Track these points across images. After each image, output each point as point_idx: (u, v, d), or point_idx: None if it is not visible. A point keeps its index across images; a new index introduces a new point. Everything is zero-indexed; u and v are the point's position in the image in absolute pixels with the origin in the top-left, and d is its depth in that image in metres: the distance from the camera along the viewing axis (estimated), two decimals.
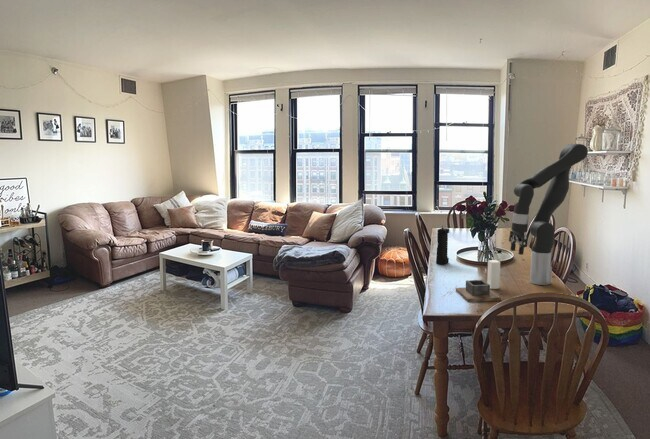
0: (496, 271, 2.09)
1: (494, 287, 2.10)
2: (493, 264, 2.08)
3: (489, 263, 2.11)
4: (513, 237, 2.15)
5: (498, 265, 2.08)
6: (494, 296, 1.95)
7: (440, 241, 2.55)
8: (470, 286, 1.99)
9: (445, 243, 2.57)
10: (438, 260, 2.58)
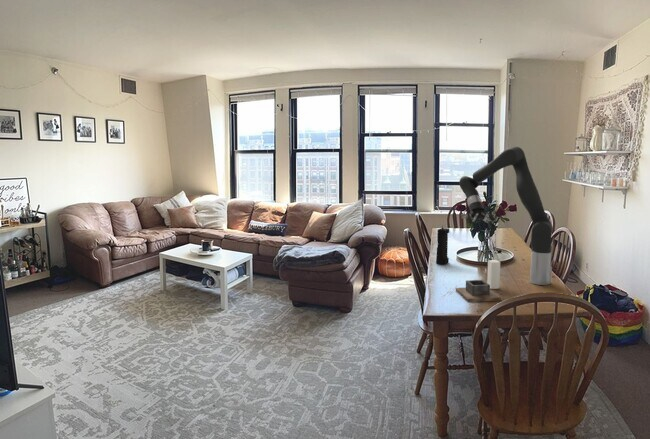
0: (496, 271, 2.09)
1: (494, 287, 2.10)
2: (493, 264, 2.08)
3: (489, 263, 2.11)
4: None
5: (498, 265, 2.08)
6: (494, 296, 1.95)
7: (440, 241, 2.55)
8: (470, 286, 1.99)
9: (445, 243, 2.57)
10: (438, 260, 2.58)
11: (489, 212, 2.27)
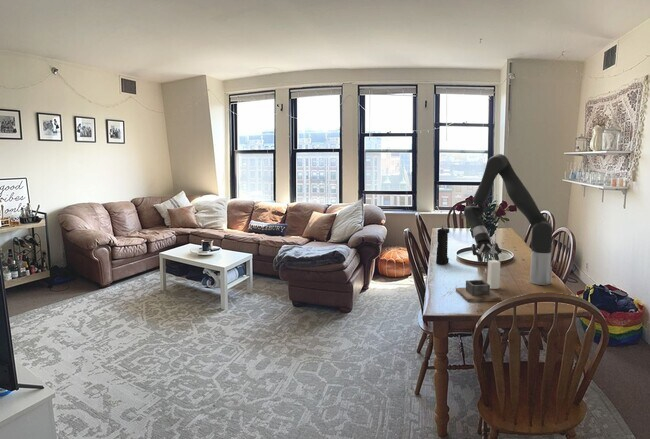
0: (496, 271, 2.09)
1: (494, 287, 2.10)
2: (493, 264, 2.08)
3: (489, 263, 2.11)
4: None
5: (498, 265, 2.08)
6: (494, 296, 1.95)
7: (440, 241, 2.55)
8: (470, 286, 1.99)
9: (445, 243, 2.57)
10: (438, 260, 2.58)
11: (495, 244, 2.21)
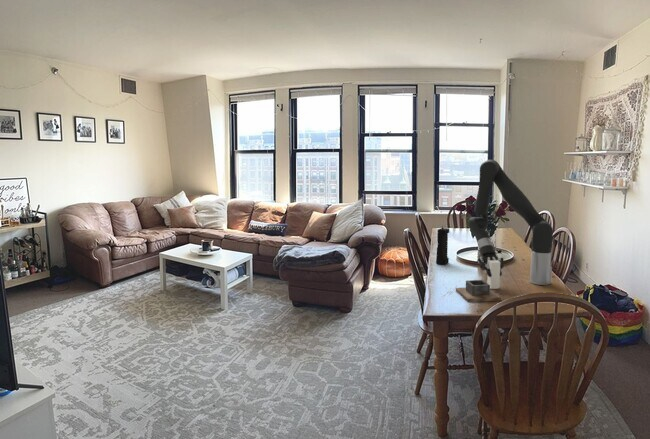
0: (496, 271, 2.09)
1: (494, 287, 2.10)
2: (493, 264, 2.08)
3: (489, 263, 2.11)
4: None
5: (498, 265, 2.08)
6: (494, 296, 1.95)
7: (440, 241, 2.55)
8: (470, 286, 1.99)
9: (445, 243, 2.57)
10: (438, 260, 2.58)
11: (501, 258, 2.15)
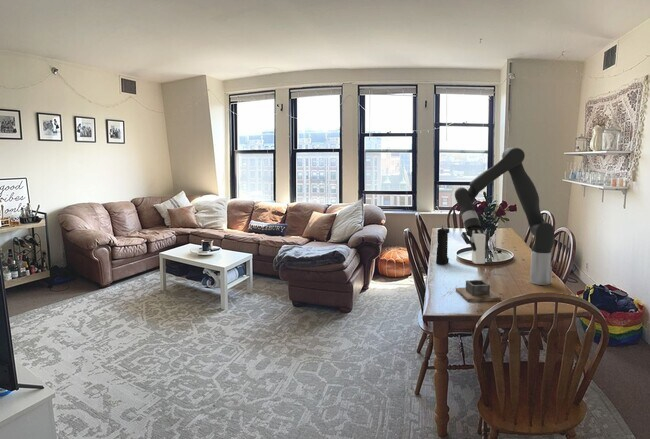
0: (481, 245, 1.95)
1: (479, 262, 1.96)
2: (478, 237, 1.94)
3: (474, 236, 1.97)
4: None
5: (483, 238, 1.95)
6: (494, 296, 1.95)
7: (440, 241, 2.55)
8: (470, 286, 1.99)
9: (445, 243, 2.57)
10: (438, 260, 2.58)
11: (487, 231, 2.01)
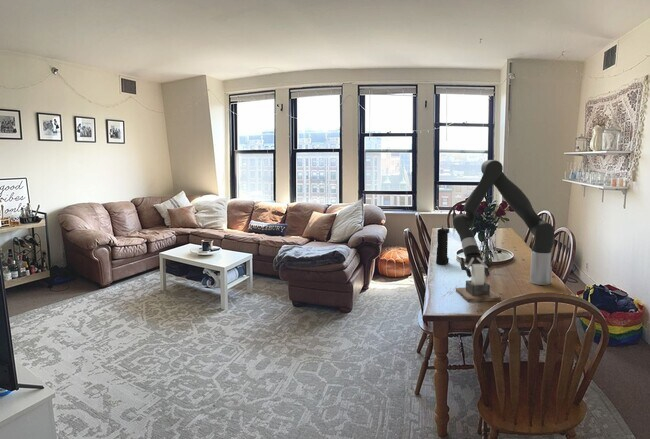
0: (480, 276, 1.98)
1: None
2: (477, 268, 1.97)
3: (473, 267, 1.99)
4: None
5: (482, 269, 1.97)
6: (494, 296, 1.95)
7: (440, 241, 2.55)
8: (470, 286, 1.99)
9: (445, 243, 2.57)
10: (438, 260, 2.58)
11: (486, 257, 2.03)
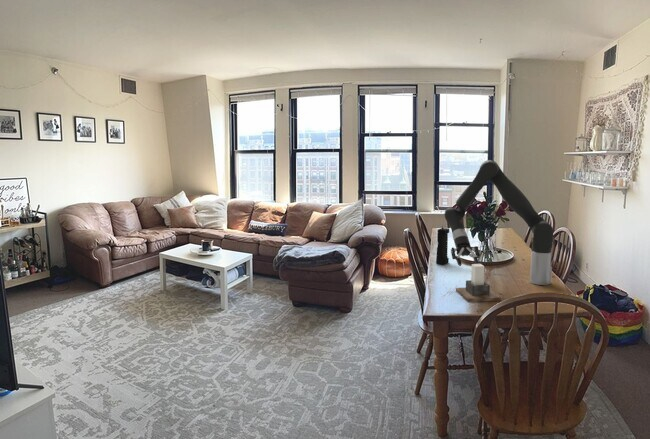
0: (480, 276, 1.98)
1: None
2: (477, 268, 1.97)
3: (473, 267, 1.99)
4: None
5: (482, 269, 1.97)
6: (494, 296, 1.95)
7: (440, 241, 2.55)
8: (470, 286, 1.99)
9: (445, 243, 2.57)
10: (438, 260, 2.58)
11: (475, 247, 2.16)
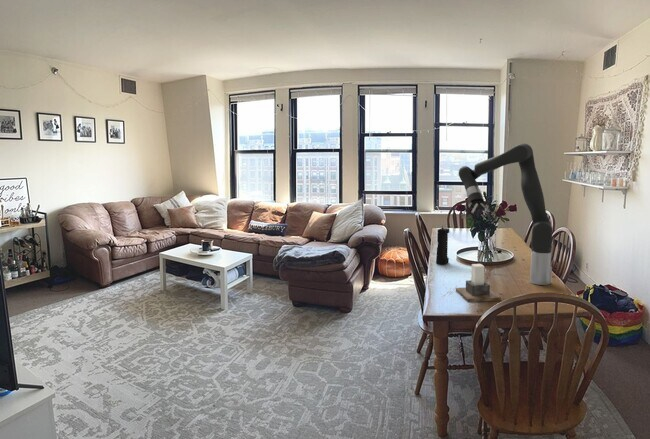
0: (480, 276, 1.98)
1: None
2: (477, 268, 1.97)
3: (473, 267, 1.99)
4: None
5: (482, 269, 1.97)
6: (494, 296, 1.95)
7: (440, 241, 2.55)
8: (470, 286, 1.99)
9: (445, 243, 2.57)
10: (438, 260, 2.58)
11: (489, 203, 2.20)
